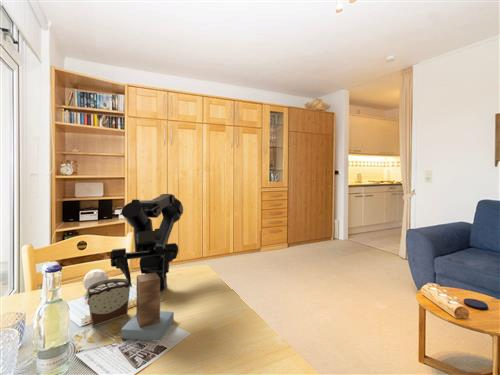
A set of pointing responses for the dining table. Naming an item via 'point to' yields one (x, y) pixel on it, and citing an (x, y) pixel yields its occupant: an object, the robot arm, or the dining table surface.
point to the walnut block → (148, 299)
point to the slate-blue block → (147, 328)
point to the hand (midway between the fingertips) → (147, 281)
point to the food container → (108, 300)
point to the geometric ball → (94, 277)
